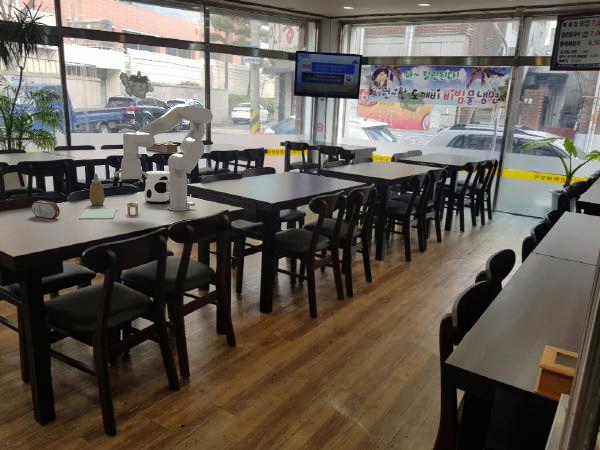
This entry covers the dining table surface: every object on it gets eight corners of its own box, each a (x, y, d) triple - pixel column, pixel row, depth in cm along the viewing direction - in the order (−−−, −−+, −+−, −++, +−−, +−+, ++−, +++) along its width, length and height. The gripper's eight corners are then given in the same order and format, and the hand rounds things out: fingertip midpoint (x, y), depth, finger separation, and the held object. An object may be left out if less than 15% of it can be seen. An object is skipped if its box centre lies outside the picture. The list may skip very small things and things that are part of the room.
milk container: (144, 199, 301) (143, 170, 297) (173, 199, 306) (172, 170, 302) (144, 204, 285) (143, 174, 281) (174, 204, 290) (174, 174, 286)
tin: (60, 218, 243) (59, 202, 241) (56, 220, 240) (54, 203, 238) (35, 215, 246) (34, 199, 244) (31, 216, 243) (29, 200, 241)
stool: (138, 213, 263) (137, 201, 262) (137, 215, 258) (137, 203, 257) (128, 213, 262) (128, 201, 260) (127, 215, 257) (127, 203, 256)
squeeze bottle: (107, 204, 282) (106, 173, 278) (100, 206, 274) (99, 175, 270) (94, 203, 282) (92, 172, 278) (87, 205, 275) (85, 174, 270)
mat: (117, 209, 268) (117, 208, 268) (112, 218, 248) (112, 217, 247) (86, 210, 264) (85, 208, 264) (79, 219, 243) (78, 218, 243)
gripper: (148, 156, 259) (148, 188, 262) (114, 155, 254) (114, 187, 258) (148, 158, 252) (148, 190, 255) (112, 156, 247) (113, 189, 251)
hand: (131, 189), depth 257 cm, fingers open, 9 cm apart
